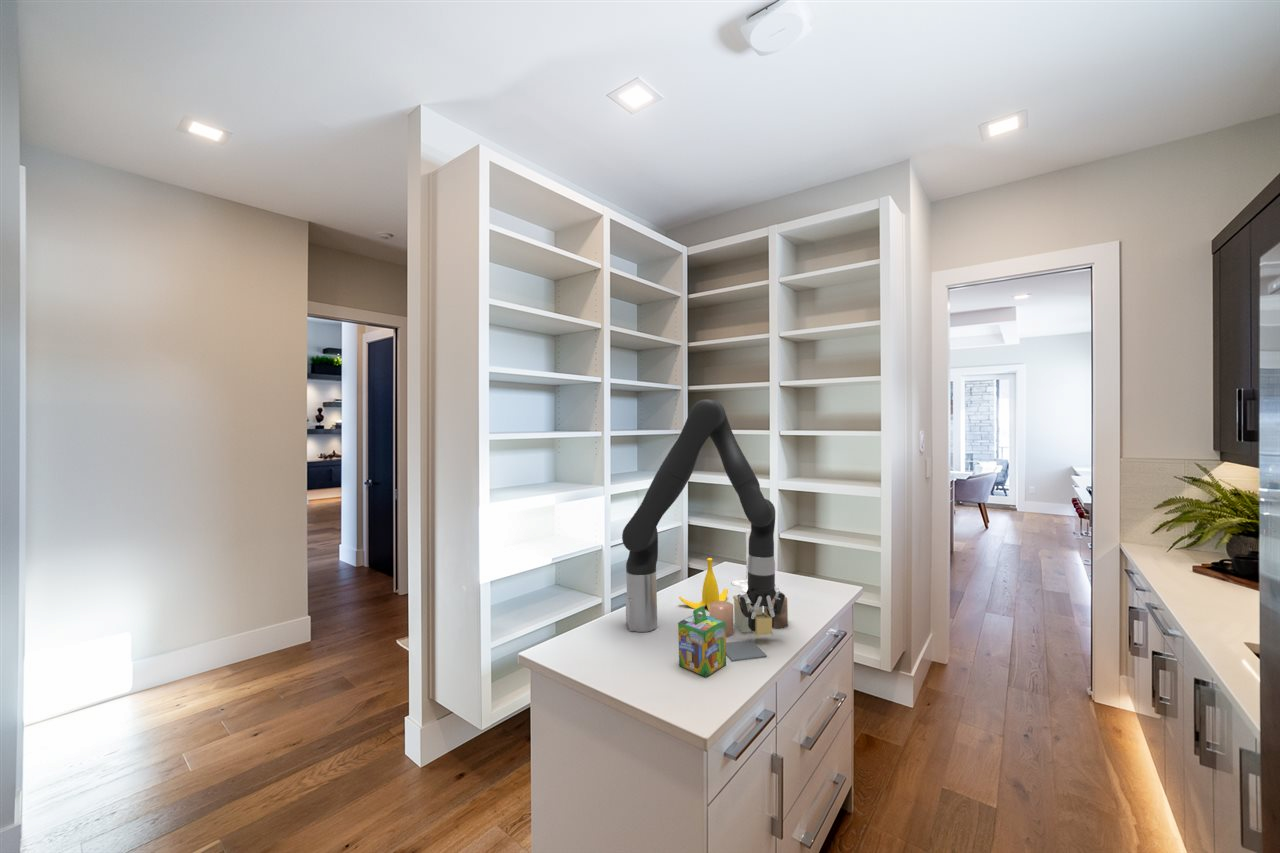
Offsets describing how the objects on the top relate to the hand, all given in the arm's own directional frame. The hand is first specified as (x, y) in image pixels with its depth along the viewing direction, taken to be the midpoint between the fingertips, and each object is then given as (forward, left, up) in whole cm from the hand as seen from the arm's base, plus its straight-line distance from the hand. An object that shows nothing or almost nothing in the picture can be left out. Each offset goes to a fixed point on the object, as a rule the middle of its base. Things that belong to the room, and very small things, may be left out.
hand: (761, 629), depth 147 cm
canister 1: (-9, +9, -3) cm, 13 cm away
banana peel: (-5, +26, -4) cm, 27 cm away
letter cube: (0, 0, -1) cm, 1 cm away
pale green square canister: (0, +10, -3) cm, 10 cm away
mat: (-8, -4, -3) cm, 9 cm away
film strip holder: (+17, +44, -4) cm, 47 cm away
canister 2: (+9, +10, -3) cm, 14 cm away
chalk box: (-21, -9, -4) cm, 23 cm away
